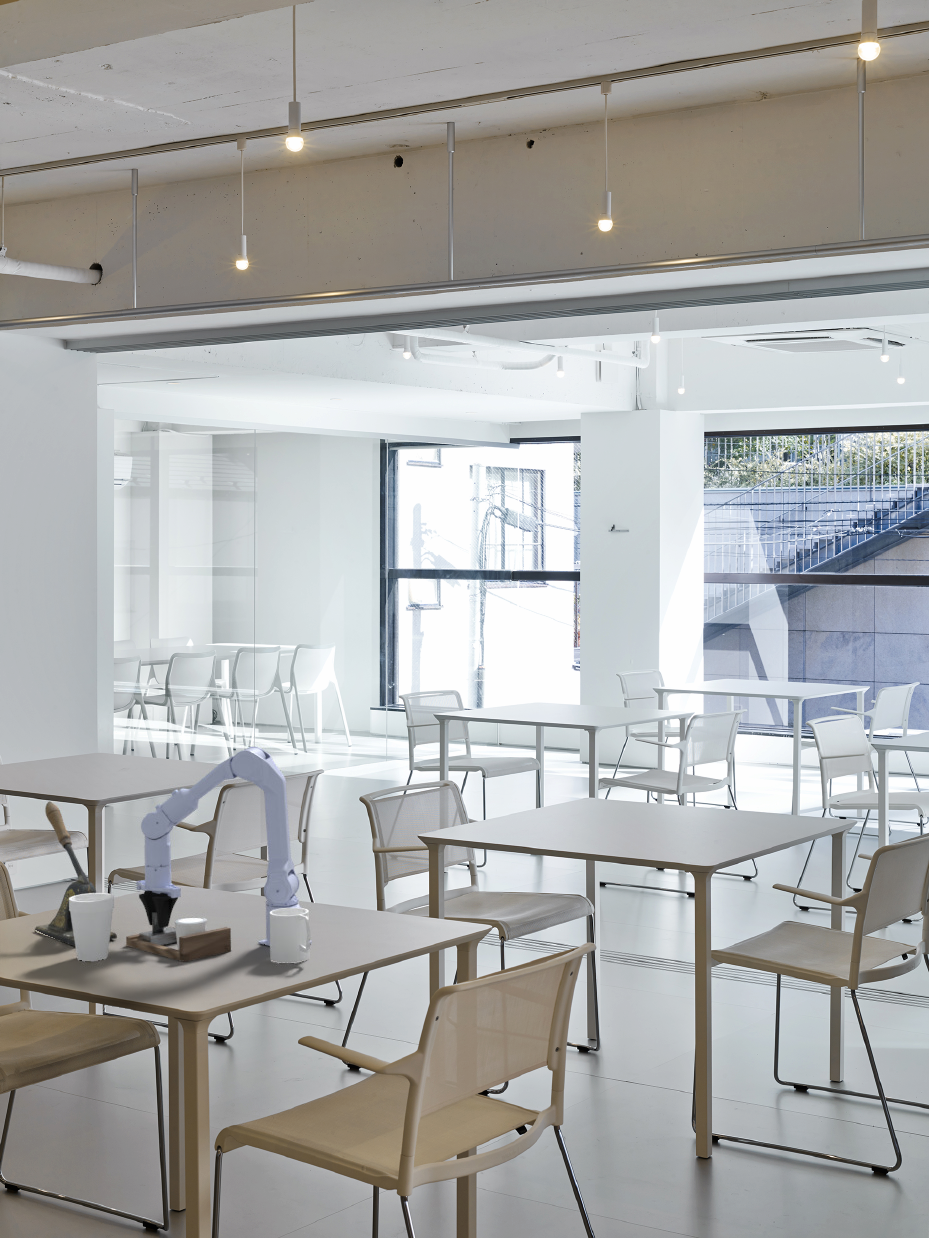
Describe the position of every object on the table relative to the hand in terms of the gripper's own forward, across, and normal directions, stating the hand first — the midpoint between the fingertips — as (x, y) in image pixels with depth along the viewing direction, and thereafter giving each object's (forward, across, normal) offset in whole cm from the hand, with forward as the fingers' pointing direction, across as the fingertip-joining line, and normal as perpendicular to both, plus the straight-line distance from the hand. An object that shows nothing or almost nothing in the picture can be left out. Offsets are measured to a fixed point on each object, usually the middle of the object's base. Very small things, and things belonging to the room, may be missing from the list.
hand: (158, 925), depth 313 cm
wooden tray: (+4, +7, 0) cm, 8 cm away
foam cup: (+4, 0, -17) cm, 17 cm away
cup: (+4, +35, +10) cm, 37 cm away
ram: (+4, +1, 0) cm, 4 cm away
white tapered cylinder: (+4, +12, 0) cm, 13 cm away
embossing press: (+4, -22, -8) cm, 24 cm away
